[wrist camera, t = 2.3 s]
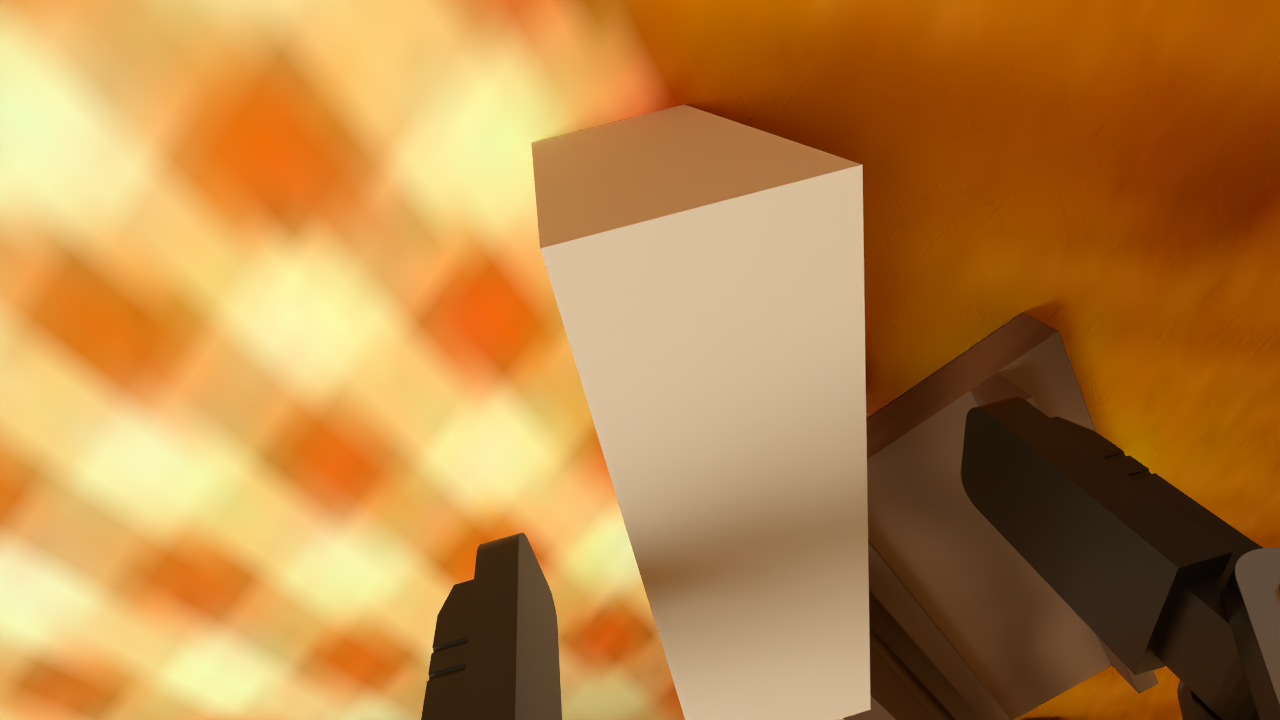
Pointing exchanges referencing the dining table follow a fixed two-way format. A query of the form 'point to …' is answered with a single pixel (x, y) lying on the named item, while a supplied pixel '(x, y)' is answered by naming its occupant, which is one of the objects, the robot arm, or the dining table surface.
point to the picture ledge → (966, 551)
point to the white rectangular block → (725, 395)
